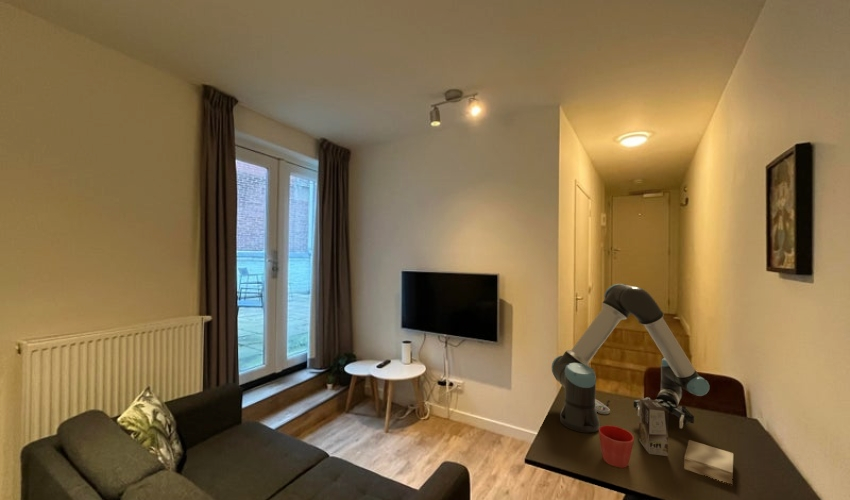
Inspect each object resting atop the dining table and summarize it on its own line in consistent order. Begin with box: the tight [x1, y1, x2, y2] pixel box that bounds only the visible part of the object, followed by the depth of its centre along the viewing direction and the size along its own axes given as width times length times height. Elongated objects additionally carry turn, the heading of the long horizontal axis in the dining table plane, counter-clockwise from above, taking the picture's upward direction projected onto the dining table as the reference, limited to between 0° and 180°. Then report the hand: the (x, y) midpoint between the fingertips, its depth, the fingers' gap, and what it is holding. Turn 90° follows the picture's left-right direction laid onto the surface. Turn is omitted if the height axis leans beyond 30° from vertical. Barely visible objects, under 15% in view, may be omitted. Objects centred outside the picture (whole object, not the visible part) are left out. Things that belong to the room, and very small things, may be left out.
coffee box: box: [638, 398, 669, 457], centre depth 128 cm, size 9×6×16 cm
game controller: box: [595, 398, 611, 415], centre depth 162 cm, size 15×13×2 cm
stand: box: [683, 439, 734, 485], centre depth 118 cm, size 12×14×4 cm
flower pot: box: [598, 425, 635, 469], centre depth 121 cm, size 11×11×10 cm
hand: (659, 418), depth 135 cm, fingers open, 13 cm apart
